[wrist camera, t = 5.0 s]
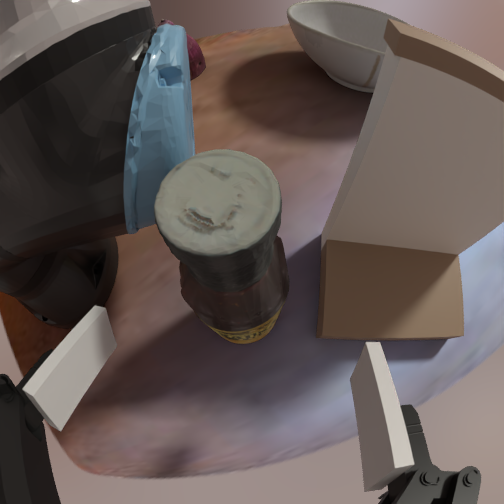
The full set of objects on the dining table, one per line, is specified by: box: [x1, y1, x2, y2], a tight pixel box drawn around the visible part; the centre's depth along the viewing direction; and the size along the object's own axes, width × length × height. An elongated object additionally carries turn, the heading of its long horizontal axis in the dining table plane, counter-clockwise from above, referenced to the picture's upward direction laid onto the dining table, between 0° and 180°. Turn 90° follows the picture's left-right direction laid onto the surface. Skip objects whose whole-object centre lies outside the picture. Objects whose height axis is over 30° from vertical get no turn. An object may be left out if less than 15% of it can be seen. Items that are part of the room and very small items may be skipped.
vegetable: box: [158, 19, 206, 80], centre depth 37 cm, size 10×10×15 cm
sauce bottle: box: [154, 149, 289, 344], centre depth 17 cm, size 6×6×20 cm
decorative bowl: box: [287, 0, 409, 93], centre depth 35 cm, size 27×27×12 cm
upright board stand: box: [316, 18, 504, 340], centre depth 16 cm, size 17×11×23 cm, turn 83°
